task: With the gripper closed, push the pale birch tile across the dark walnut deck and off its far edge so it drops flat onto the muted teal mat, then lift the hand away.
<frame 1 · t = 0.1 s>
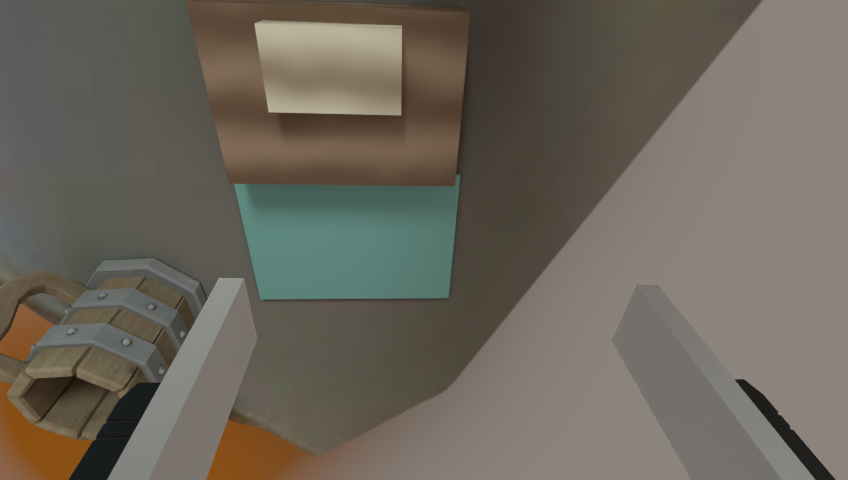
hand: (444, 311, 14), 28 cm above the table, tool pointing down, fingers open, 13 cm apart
tankard: (121, 284, 48), on the table
deck: (343, 93, 37), on the table
tile: (335, 66, 32), point 4 cm above the table, touching deck
mat: (352, 239, 46), on the table
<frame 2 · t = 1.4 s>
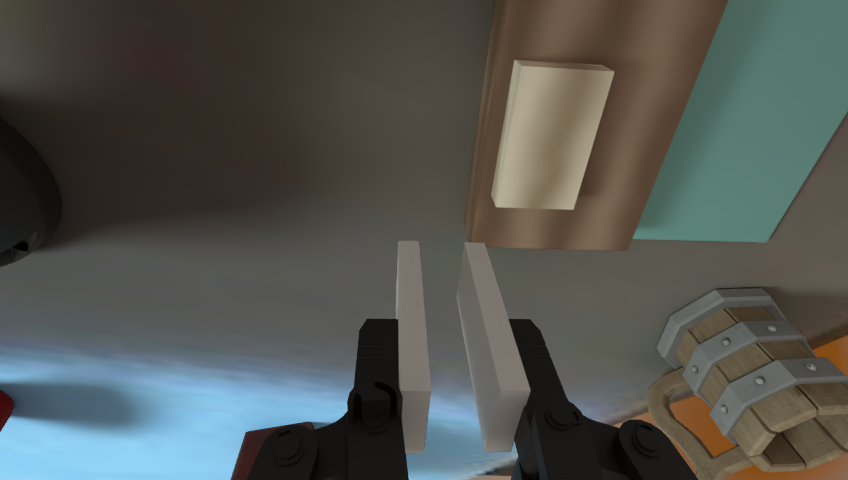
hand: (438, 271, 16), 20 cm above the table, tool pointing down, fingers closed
tankard: (684, 343, 51), on the table
deck: (563, 119, 34), on the table
toy vending machine: (286, 439, 57), on the table
tile: (541, 135, 31), point 4 cm above the table, touching deck
mat: (741, 128, 36), on the table
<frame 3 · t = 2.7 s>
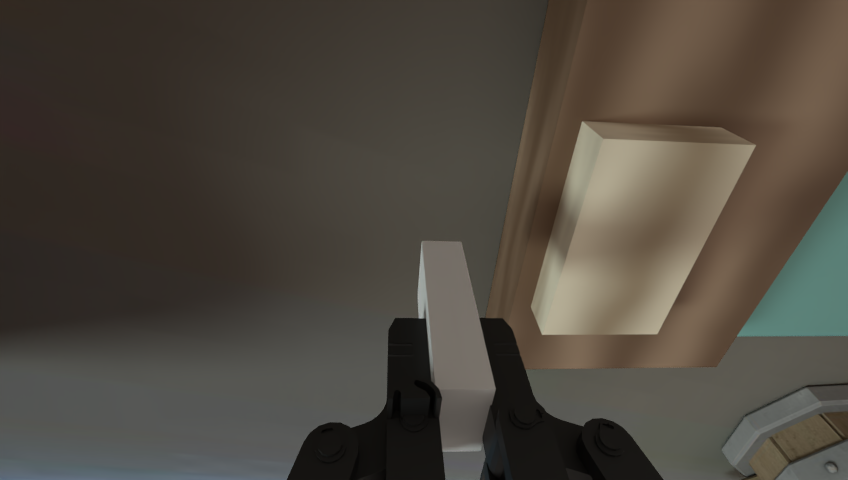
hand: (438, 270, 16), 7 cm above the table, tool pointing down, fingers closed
tankard: (755, 443, 40), on the table
deck: (633, 191, 24), on the table
tile: (614, 228, 20), point 4 cm above the table, touching deck
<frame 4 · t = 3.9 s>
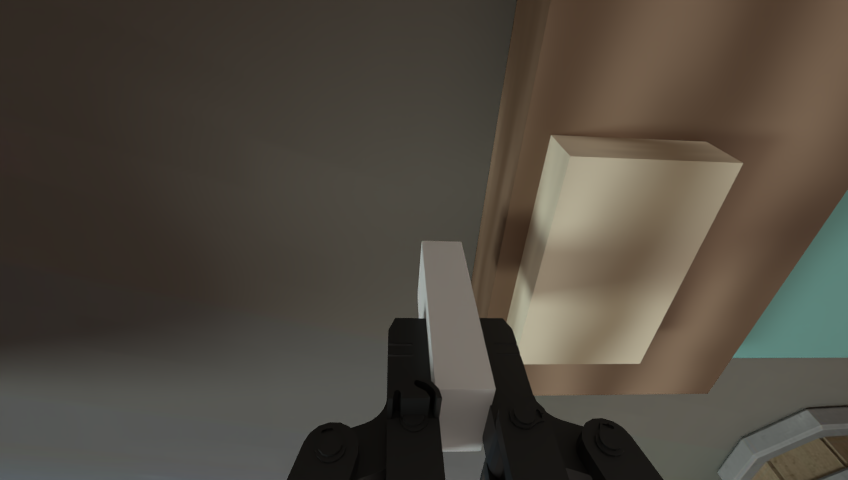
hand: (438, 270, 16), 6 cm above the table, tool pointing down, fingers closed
tankard: (753, 465, 38), on the table
deck: (617, 206, 22), on the table
tile: (591, 249, 18), point 4 cm above the table, touching deck
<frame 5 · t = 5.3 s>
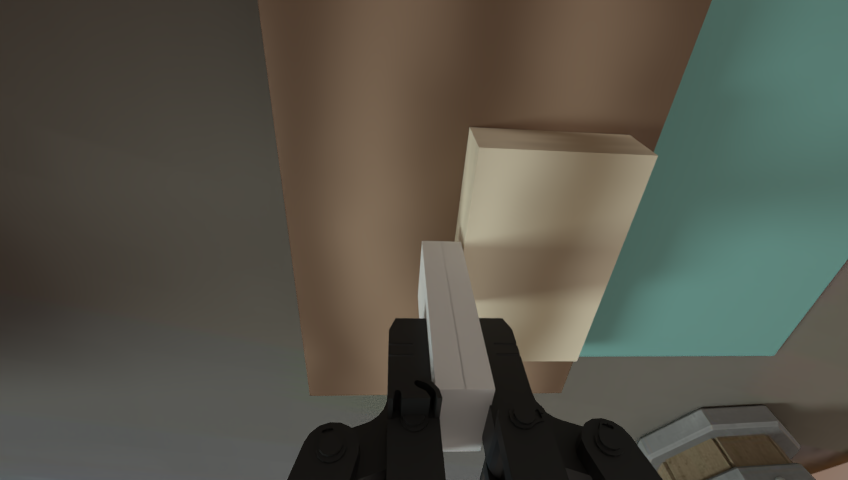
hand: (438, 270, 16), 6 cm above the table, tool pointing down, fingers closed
tankard: (661, 465, 38), on the table
deck: (448, 200, 21), on the table
tile: (523, 245, 18), point 4 cm above the table
mat: (735, 208, 23), on the table
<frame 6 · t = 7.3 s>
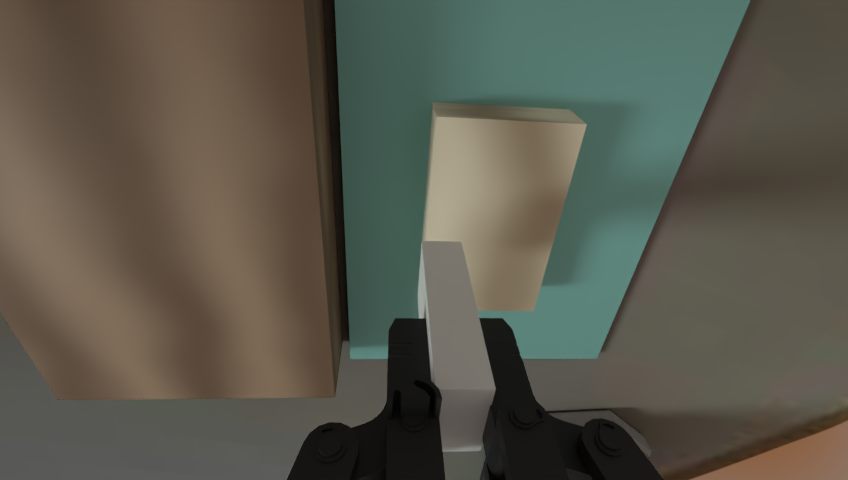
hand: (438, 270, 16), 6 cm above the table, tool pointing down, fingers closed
tankard: (523, 471, 37), on the table
deck: (184, 193, 20), on the table
tile: (492, 229, 19), point 2 cm above the table, tilted 180°, touching mat
mat: (504, 203, 21), on the table
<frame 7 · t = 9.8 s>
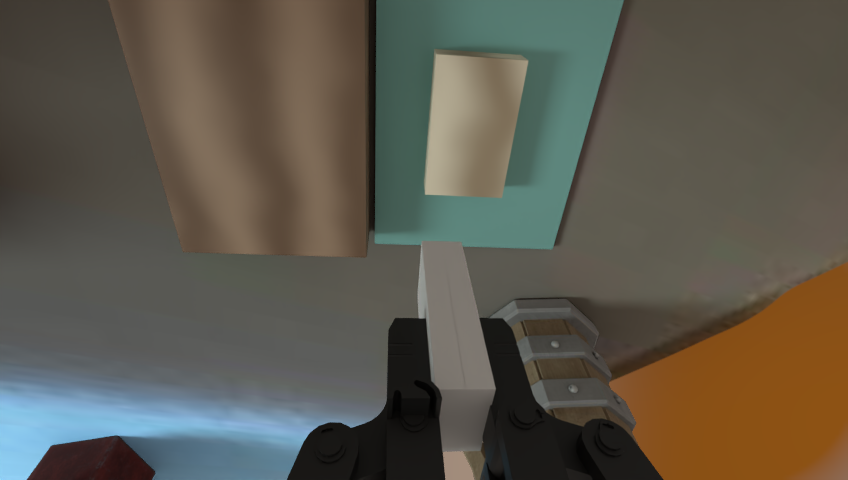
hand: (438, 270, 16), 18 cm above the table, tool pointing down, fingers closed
tankard: (503, 357, 47), on the table
deck: (272, 111, 31), on the table
toy vending machine: (100, 453, 54), on the table
tile: (472, 133, 30), point 2 cm above the table, tilted 180°, touching mat
mat: (482, 122, 32), on the table
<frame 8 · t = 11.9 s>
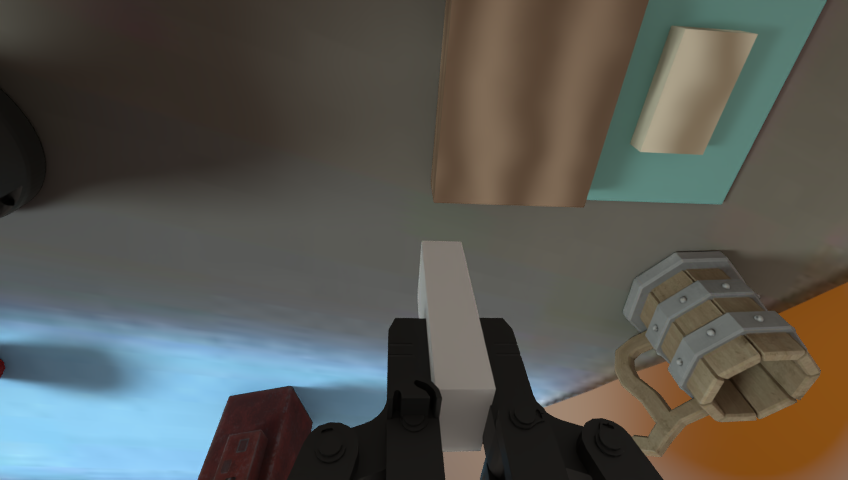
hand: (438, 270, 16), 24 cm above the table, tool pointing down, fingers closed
tankard: (649, 308, 53), on the table
deck: (520, 80, 36), on the table
toy vending machine: (269, 404, 59), on the table
tile: (694, 97, 35), point 2 cm above the table, tilted 180°, touching mat
mat: (689, 90, 38), on the table
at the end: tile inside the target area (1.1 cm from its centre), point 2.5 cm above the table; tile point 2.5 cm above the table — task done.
